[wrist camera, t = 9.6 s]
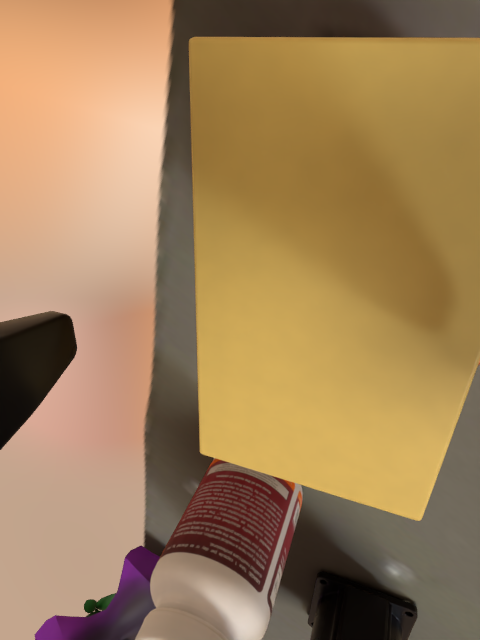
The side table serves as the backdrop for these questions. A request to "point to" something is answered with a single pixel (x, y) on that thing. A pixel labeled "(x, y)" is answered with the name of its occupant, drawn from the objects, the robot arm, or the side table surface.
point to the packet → (336, 257)
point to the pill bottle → (224, 558)
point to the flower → (111, 606)
